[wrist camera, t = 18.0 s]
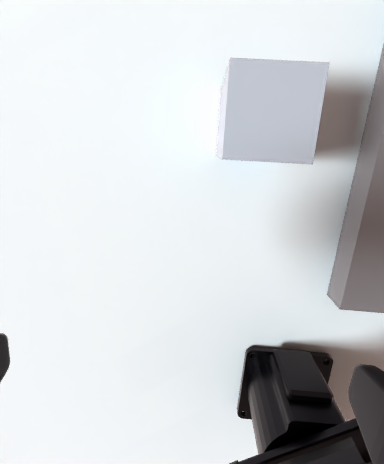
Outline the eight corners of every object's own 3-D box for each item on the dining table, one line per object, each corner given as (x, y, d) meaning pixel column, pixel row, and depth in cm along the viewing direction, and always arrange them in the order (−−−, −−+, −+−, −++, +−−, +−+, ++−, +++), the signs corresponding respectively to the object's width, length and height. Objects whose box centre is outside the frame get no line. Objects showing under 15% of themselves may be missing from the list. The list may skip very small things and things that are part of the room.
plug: (278, 159, 19) (313, 164, 13) (215, 156, 19) (222, 159, 13) (287, 91, 18) (329, 62, 12) (220, 87, 18) (230, 57, 12)
